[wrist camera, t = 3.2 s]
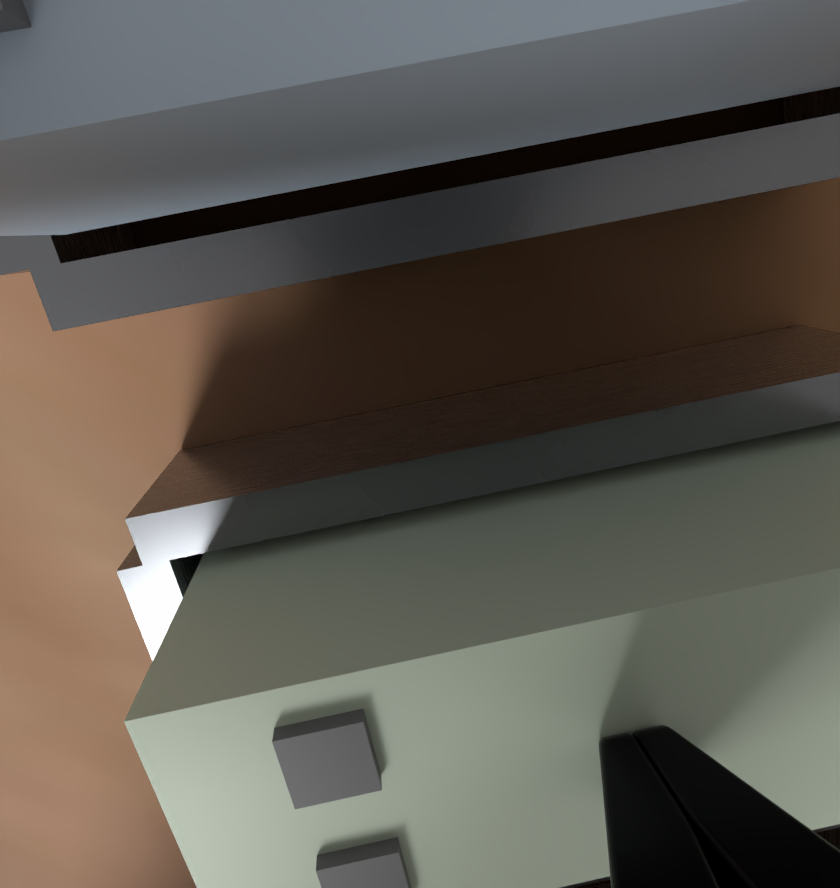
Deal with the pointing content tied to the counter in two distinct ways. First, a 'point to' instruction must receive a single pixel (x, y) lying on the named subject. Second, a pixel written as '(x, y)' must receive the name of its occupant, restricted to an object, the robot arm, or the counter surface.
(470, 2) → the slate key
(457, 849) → the sage key
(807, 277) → the counter surface
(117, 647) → the counter surface
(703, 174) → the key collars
